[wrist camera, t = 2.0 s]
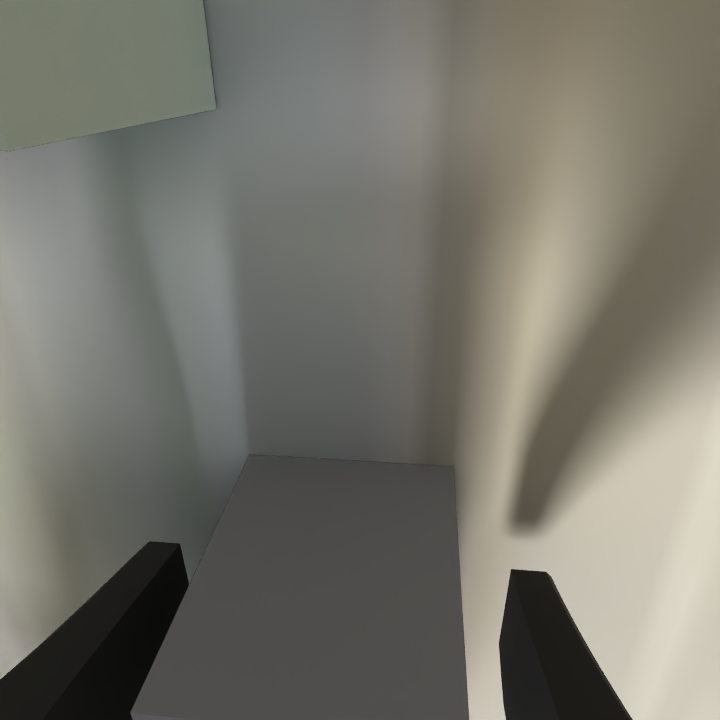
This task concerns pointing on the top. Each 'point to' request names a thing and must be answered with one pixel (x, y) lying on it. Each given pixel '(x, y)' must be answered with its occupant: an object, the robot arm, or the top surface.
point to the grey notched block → (321, 600)
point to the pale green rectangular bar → (99, 66)
